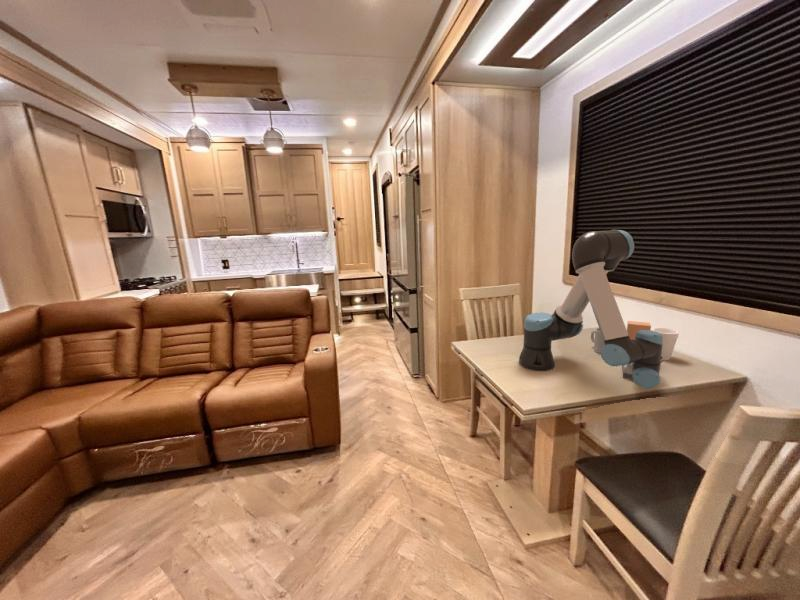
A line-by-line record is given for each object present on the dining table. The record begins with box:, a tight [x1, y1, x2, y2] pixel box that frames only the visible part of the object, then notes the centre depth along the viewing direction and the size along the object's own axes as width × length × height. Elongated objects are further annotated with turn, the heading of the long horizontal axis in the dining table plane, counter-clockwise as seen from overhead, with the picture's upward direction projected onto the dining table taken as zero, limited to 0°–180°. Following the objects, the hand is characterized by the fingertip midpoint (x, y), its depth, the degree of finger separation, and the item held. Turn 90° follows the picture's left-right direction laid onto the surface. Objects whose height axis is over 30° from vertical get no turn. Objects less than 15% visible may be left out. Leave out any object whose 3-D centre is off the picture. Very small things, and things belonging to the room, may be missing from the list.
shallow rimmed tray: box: [621, 363, 634, 380], centre depth 137 cm, size 25×10×4 cm, turn 147°
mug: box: [590, 327, 605, 355], centre depth 157 cm, size 12×8×11 cm
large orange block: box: [626, 320, 652, 340], centre depth 142 cm, size 6×8×16 cm
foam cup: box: [651, 327, 680, 361], centre depth 145 cm, size 10×9×13 cm
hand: (639, 344), depth 140 cm, fingers closed
